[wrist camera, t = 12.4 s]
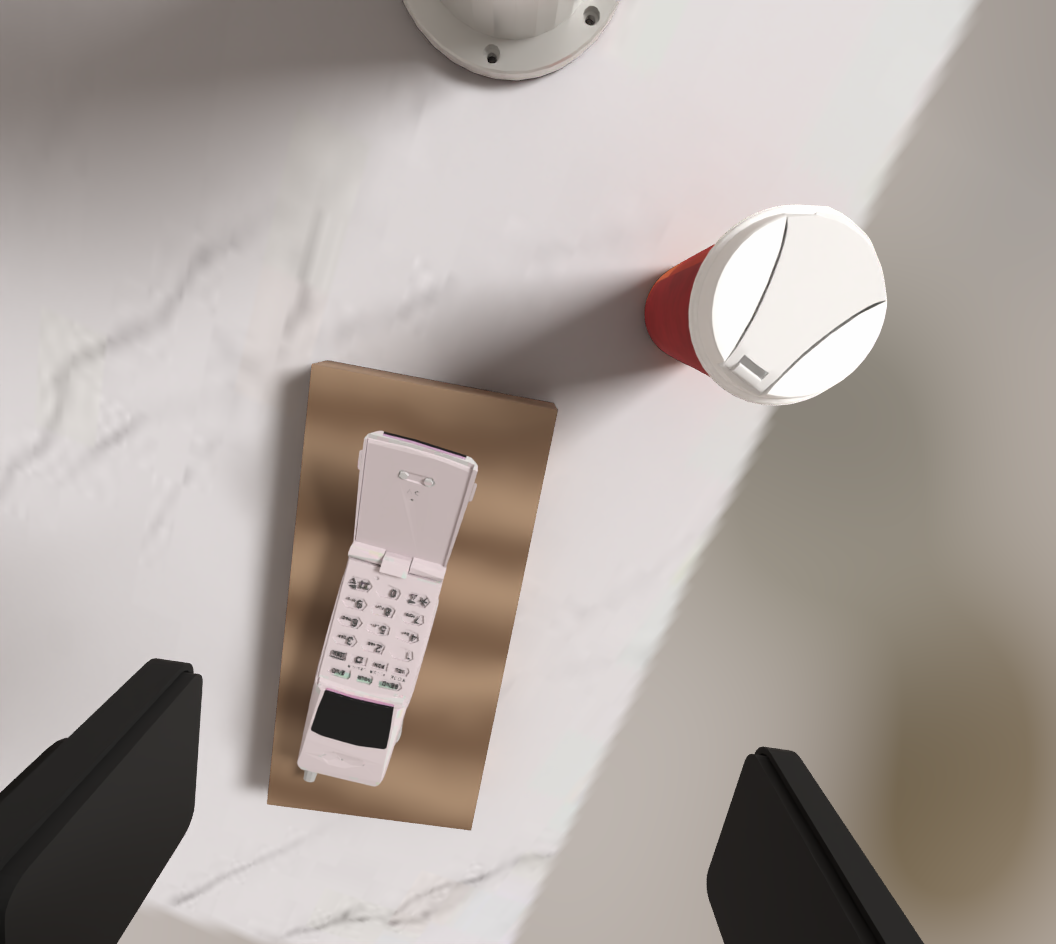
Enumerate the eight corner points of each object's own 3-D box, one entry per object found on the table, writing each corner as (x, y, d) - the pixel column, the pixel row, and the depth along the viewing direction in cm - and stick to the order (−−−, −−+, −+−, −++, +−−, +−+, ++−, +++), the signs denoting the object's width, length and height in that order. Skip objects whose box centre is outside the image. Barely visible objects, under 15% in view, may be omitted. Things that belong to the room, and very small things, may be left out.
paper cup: (698, 400, 37) (807, 447, 24) (600, 328, 36) (657, 334, 22) (779, 294, 36) (946, 279, 22) (681, 214, 34) (794, 147, 21)
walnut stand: (327, 360, 36) (311, 364, 33) (553, 403, 37) (557, 410, 34) (283, 771, 43) (266, 804, 40) (473, 796, 44) (470, 830, 41)
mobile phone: (484, 461, 29) (363, 864, 34) (489, 438, 34) (385, 786, 40) (362, 425, 28) (259, 840, 34) (388, 407, 34) (297, 765, 39)
